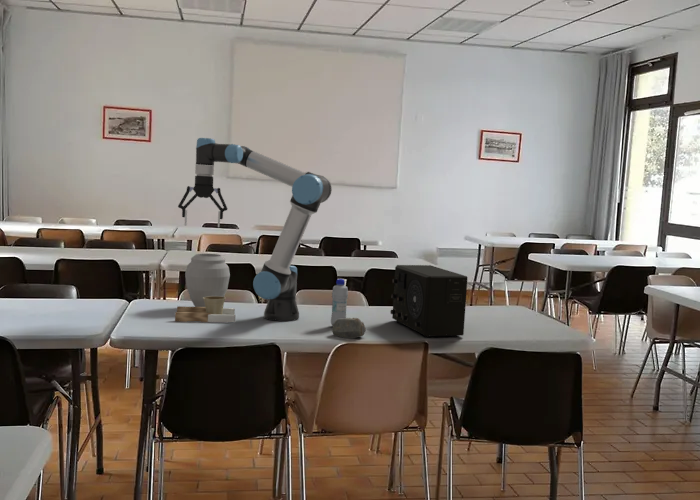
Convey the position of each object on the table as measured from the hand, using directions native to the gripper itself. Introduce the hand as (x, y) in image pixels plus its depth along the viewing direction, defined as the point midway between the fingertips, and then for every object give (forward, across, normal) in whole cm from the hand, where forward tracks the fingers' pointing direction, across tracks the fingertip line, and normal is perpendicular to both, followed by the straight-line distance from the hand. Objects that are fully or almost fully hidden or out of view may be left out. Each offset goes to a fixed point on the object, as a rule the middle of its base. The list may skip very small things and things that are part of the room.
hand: (202, 226), depth 294 cm
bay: (+38, -10, +6) cm, 40 cm away
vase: (+38, -3, -14) cm, 41 cm away
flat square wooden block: (+38, +2, +6) cm, 39 cm away
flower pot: (+38, -7, +6) cm, 39 cm away
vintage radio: (+37, -93, +20) cm, 103 cm away
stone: (+38, -58, +37) cm, 79 cm away
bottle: (+38, -57, +20) cm, 71 cm away
